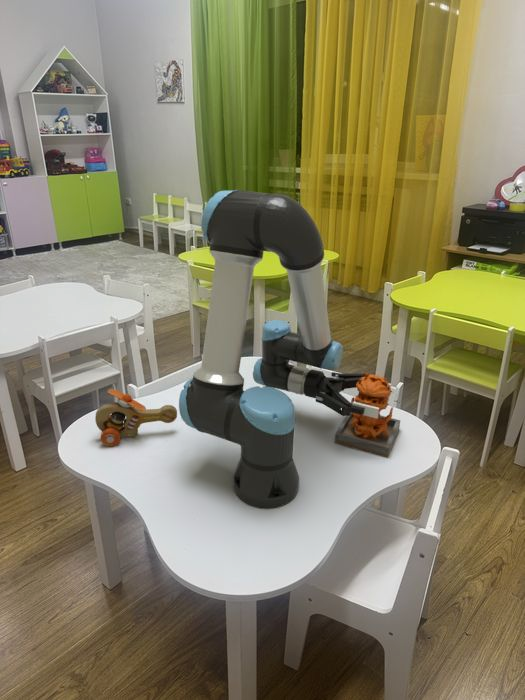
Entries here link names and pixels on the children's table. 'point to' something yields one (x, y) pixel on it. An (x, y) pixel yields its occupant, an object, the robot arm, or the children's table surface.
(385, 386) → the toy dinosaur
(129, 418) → the toy helicopter
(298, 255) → the robot arm
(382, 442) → the tray
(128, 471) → the children's table surface
